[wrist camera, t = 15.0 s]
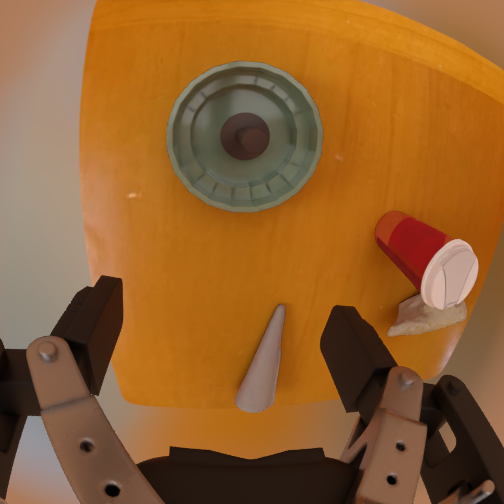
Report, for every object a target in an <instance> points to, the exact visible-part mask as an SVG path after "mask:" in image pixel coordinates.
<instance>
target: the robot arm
mask: <svg viewBox="0 0 504 504" xmlns="http://www.w3.org/2000/svg"><path fill="white" fill-rule="evenodd" d="M122 324H123V283H122V279H121V278H116V277H110V276H104V275H102V276H101V277H100V278H99V280H98V281H97V283H96V284H95V286H94V287H88V286H87V287H85V288H84V289H82V290H81V291H79V292H77V294H76V295H75V296H74V298H73V299H72V301H71V303H70V304H69V305H68V307H67V309H66V311H65V312H64V313H63V315H62V316H61V318H60V319H59V321H58V323H57V324H56V326H55V328H54V329H53V331H52V332H51V334H50V336H43V337H40V338H38V339H36V340H34V341H33V342H32V343H31V344H30V345H29V346H28V348H27V349H5V348H4V345H3V342H2V340H1V339H0V504H7V502H6V501H5V498H6V493H7V488H8V484H9V479H10V475H11V471H12V466H13V463H14V459H15V455H16V452H17V448H18V444H19V441H20V438H21V435H22V431H23V428H24V425H25V422H26V419H27V416H41V417H42V420H43V423H44V426H45V429H46V431H47V434H48V436H49V439H50V441H51V444H52V446H53V448H54V451H55V453H56V456H57V458H58V460H59V462H60V464H61V467H62V469H63V471H64V473H65V475H66V477H67V479H68V481H69V483H70V485H71V487H72V489H73V491H74V493H75V494H76V496H77V498H78V500H79V502H80V503H81V504H413V501H414V497H415V493H416V489H417V484H418V480H419V475H421V477H422V480H423V482H424V485H425V487H426V490H427V493H428V495H429V498H430V501H431V503H432V504H504V448H503V446H502V444H501V442H500V440H499V438H498V437H497V435H496V433H495V432H494V430H493V428H492V427H491V425H490V423H489V422H488V420H487V418H486V417H485V415H484V413H483V412H482V410H481V409H480V407H479V406H478V404H477V402H476V401H475V399H474V398H473V396H472V395H471V393H470V392H469V390H468V389H467V387H466V386H465V384H464V383H463V382H462V381H461V380H459V379H458V378H456V377H454V376H451V375H444V376H442V377H441V379H440V380H439V381H438V383H437V384H436V385H433V384H427V383H423V382H422V379H421V378H420V376H419V375H418V374H417V373H416V372H414V371H413V370H411V369H409V368H407V367H403V366H398V365H397V363H396V362H395V360H394V359H393V357H392V355H391V354H390V352H389V351H388V349H387V348H386V346H385V345H384V344H383V342H382V340H381V339H380V337H378V334H377V333H376V331H375V330H374V328H373V327H372V326H371V325H370V324H369V323H367V322H366V321H365V320H364V319H362V318H361V316H360V315H359V313H358V312H357V310H356V309H355V307H353V306H340V305H336V306H334V307H333V309H332V311H331V314H330V316H329V319H328V321H327V324H326V326H325V328H324V331H323V333H322V336H321V340H320V349H321V352H322V354H323V357H324V359H325V362H326V364H327V366H328V369H329V371H330V374H331V376H332V378H333V381H334V383H335V386H336V388H337V390H338V393H339V395H340V398H341V400H342V403H343V405H344V407H345V410H346V412H347V413H348V412H358V411H359V413H360V416H359V417H358V418H357V420H356V422H355V425H354V427H353V430H352V432H351V434H350V437H349V439H348V442H347V444H346V446H345V448H344V451H343V453H342V455H341V457H340V459H339V460H337V459H333V458H328V457H325V455H324V451H323V448H312V449H301V450H288V451H284V452H281V453H277V454H273V455H270V456H266V457H262V458H258V459H244V458H240V457H235V456H231V455H227V454H223V453H219V452H215V451H211V450H201V449H190V448H180V447H171V446H170V453H169V456H163V457H157V458H152V459H149V460H146V461H143V462H141V463H139V464H135V463H134V461H133V460H132V459H131V457H130V455H129V454H128V452H127V451H126V449H125V448H124V446H123V444H122V443H121V441H120V440H119V438H118V436H117V435H116V433H115V431H114V430H113V428H112V426H111V425H110V423H109V421H108V420H107V418H106V416H105V414H104V412H103V410H102V408H101V407H100V405H99V403H98V401H97V399H96V398H95V396H94V395H97V396H99V393H100V389H101V386H102V383H103V380H104V376H105V374H106V371H107V368H108V365H109V362H110V359H111V356H112V354H113V351H114V348H115V345H116V342H117V340H118V337H119V334H120V332H121V328H122ZM91 394H92V395H91ZM446 422H448V424H449V426H450V427H451V429H452V431H453V433H454V435H455V437H456V446H455V448H454V450H453V451H452V452H451V453H449V451H448V449H447V447H446V445H445V443H444V440H443V438H442V436H441V434H440V432H439V429H440V428H441V427H442V426H443V425H444V424H445V423H446Z"/></svg>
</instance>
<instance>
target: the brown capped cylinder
mask: <svg viewBox="0 0 504 504" xmlns="http://www.w3.org/2000/svg"><path fill="white" fill-rule="evenodd" d="M220 138H221V143H222V146H223V148H224V149H225V151H226V152H227V153H228V154H229V155H230V156H232V157H234V158H236V159H239V160H251V159H254V158H256V157H258V156H260V155H261V154H262V153H263V152H264V151H265V150H266V148H267V147H268V144H269V141H270V131H269V128H268V126H267V124H266V122H265V121H264V120H263V119H262V118H261V117H259V116H258V115H255V114H253V113H248V112H243V113H238V114H235V115H233V116H232V117H230V118H229V119H228V120H227V121H226V122H225V123H224V125H223V126H222V129H221V134H220Z"/></svg>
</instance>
